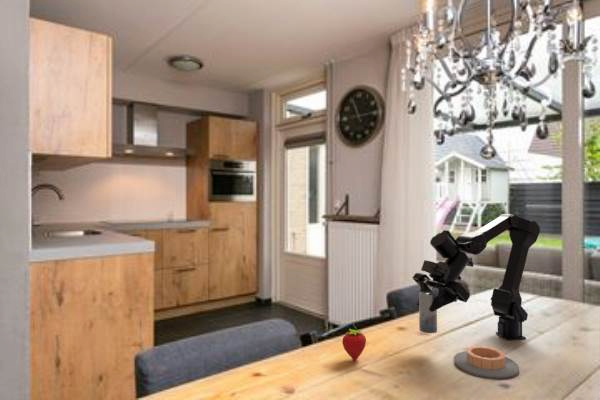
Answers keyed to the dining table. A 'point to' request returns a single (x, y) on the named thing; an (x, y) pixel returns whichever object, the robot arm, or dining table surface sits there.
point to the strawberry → (354, 343)
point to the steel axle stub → (427, 312)
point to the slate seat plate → (487, 372)
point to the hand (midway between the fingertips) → (424, 308)
